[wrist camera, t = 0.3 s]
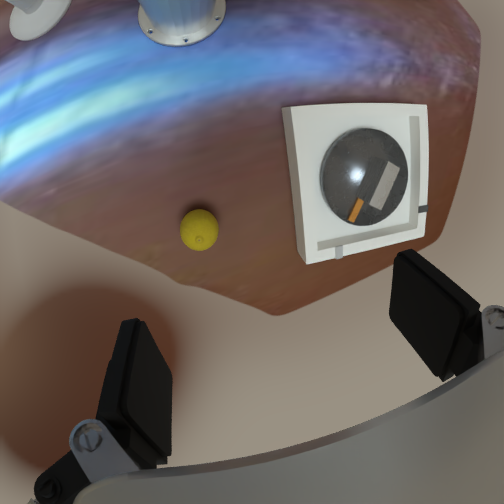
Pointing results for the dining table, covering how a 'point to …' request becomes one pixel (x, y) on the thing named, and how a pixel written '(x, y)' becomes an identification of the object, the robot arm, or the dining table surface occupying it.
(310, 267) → the dining table surface
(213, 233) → the lemon
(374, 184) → the dial
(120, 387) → the robot arm
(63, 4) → the candlestick
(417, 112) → the dial housing
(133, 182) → the dining table surface
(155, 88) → the dining table surface
